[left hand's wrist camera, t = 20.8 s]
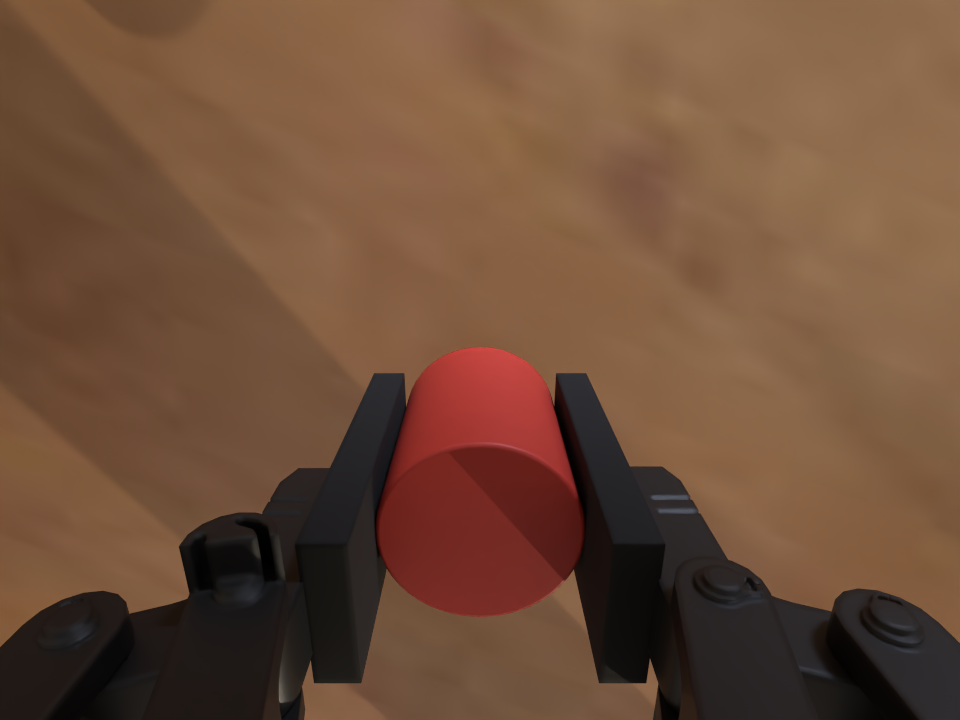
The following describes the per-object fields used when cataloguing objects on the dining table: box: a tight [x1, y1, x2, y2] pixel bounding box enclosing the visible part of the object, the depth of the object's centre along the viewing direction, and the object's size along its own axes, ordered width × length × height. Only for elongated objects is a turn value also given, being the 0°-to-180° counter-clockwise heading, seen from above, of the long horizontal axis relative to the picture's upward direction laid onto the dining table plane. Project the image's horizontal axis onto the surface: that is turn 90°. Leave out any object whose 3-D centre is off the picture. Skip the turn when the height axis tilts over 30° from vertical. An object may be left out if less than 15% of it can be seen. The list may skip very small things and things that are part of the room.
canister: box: [375, 347, 585, 617], centre depth 13 cm, size 4×4×5 cm
